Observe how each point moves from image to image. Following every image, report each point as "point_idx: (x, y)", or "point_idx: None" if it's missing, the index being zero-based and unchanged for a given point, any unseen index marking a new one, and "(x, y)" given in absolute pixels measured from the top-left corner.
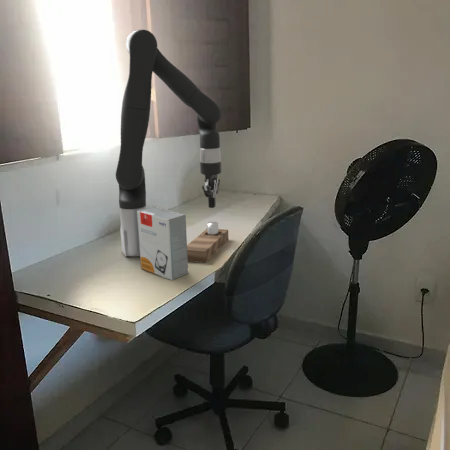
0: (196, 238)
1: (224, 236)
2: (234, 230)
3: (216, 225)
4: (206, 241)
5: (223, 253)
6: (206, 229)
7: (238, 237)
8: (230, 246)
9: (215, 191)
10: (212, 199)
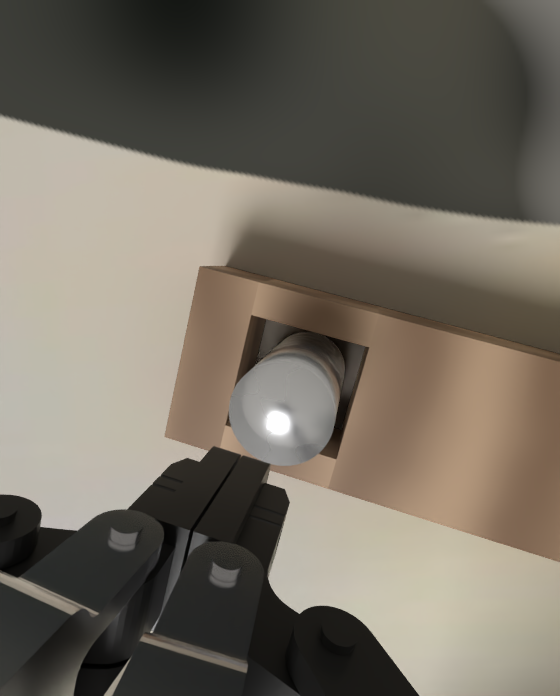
0: (428, 510)
1: (301, 291)
2: (22, 236)
3: (316, 372)
4: (518, 430)
5: (530, 282)
6: (197, 442)
7: (170, 195)
8: (372, 240)
9: (73, 593)
10: (260, 561)
